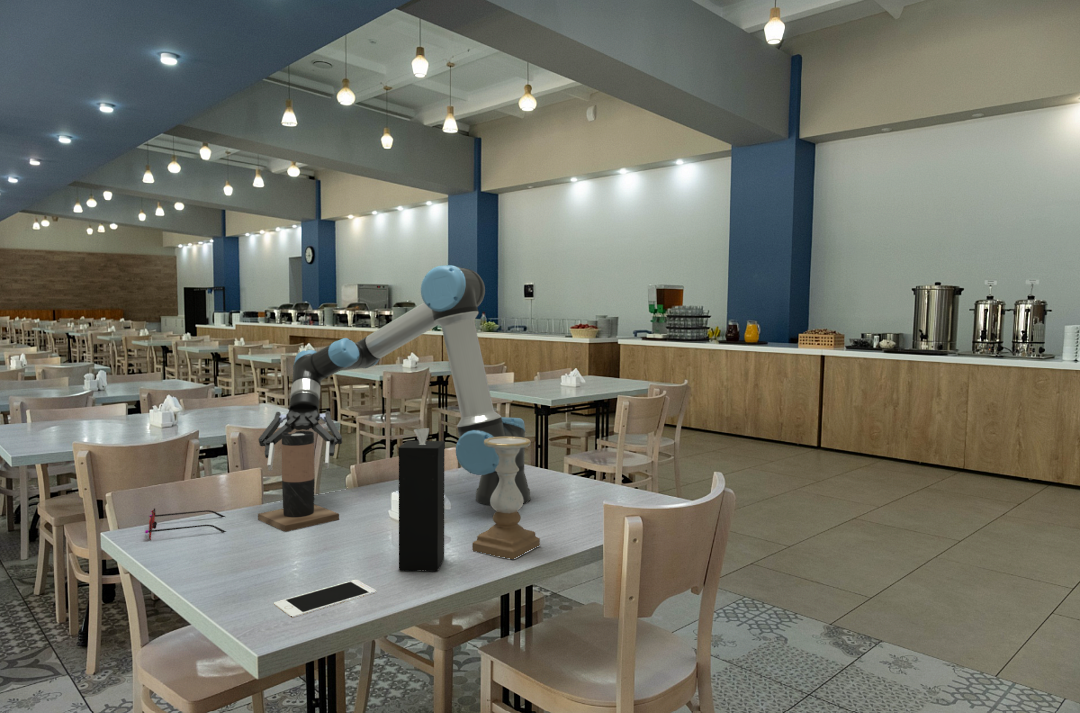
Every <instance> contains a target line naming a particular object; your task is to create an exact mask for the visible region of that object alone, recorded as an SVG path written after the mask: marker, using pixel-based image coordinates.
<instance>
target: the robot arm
mask: <svg viewBox="0 0 1080 713" xmlns="http://www.w3.org/2000/svg"><path fill="white" fill-rule="evenodd" d="M485 293H486V288H485V283H484V281H483V279H482V278H481V276H480V275H479V274H478V273H477V272H476V271H474V270H472V269H469V268H463V267H459V266H455V265H451V264H445V265H444V264H443V265H438V266H434V267H433V268H431V269H430V270H429V271H428V272H427V273H426V275H424V277H423V279H422V281H421V285H420V295H421V299H422V301H423V302H422V303H420V304H419V305H417V306H415V307H414V308H412V309H411V310H408V311H407V312H405V313H403V314H402V315H400V316H398V317H397V318H395V319H393V320H392V321H389V323H386V324H385V325H383V326H382V327H380V328H378V329H376V330H375V331H373V332H372V333H370V334H368V335H367V336H365V337H364V338H362V339H360V340H358V341H357V342H354V341H353V340H350V339H349V338H347V337H343V338H341V339H339V340H335V341H334V342H332V343H330V344H329V345H327V346H325V347H323V348H322V349H320V350H318V351H316V350H314V349H308V350H305V349H304V350H302V351H299V352H298V353H297V354H296V356H295V358H294V362H293V366H292V370H293V371H292V382H291V386H290V387H291V389H290V390H291V391H290V398H289V399H290V400H289V407H288V412H287V413H286V414H283V413H281V412H280V411H276V412H275V414H274V418H273V419H272V421H271V422H270V423H269V425H268V426H267V427H266V428H265V430H264V431H262V433H261V434H260V436H259V437H258V443H259V446H260V447H264V456H265V459H267V464H266V465H267V469H268V471H273V467H274V466H273V463H274V457H275V448H276V447H275V445H276V444H277V443H278V442H280V441H282V433H285V432H287V433H288V434H290V433H292V432H293V431H294V430H296V431H310V429H311V430H312V431H313V432H315V433H317V435H318V436H320V437H321V438H322V439H323V440H324V441H325V444H326V445H325V456H324V457H325V459H324V461H325V462H324V465H325V466H324V467H325V470H326V469H329V468H330V460H331V459H330V458H331V457H333V456H335V448H336V446H337V445H342V443H343V438H342V437H343V436H342V434H341V432H340V431H339V430H338V428H337V426H336V424H335V423H334V420H332V418H331V411H329V410H326V411H325V413H319V411H320V398H321V387H322V385H321V384H322V381H323V380H324V379H326V378H329V377H330V376H333V375H335V374H336V373H339V372H342V371H348V370H356V369H357V370H358V369H368V368H371V367H374V366H376V365H377V364H378V362H379V361H380V359H382V358H385V356H387V355H389V354H391V353H393V352H394V351H395V350H397V349H399V348H400V347H403V346H405V345H407V344H408V343H410V342H411V341H413V340H415V339H416V338H418V337H419V336H422V335H424V334H425V333H427V332H428V331H430V330H433V328H435V327H437V326H439V327H441V330H442V331H441V332H442V334H443V340H444V344H445V348H446V354H447V359H448V364H449V367H450V373H451V377H452V381H453V386H454V390H455V395H456V400H457V404H458V409H459V413H460V420H459V421H458V423H457V425H456V427H457V433H458V437H459V438H458V440H457V442H456V445H455V456H456V459H457V462H458V463H459V465H460V467H462V468H463V470H464V471H467V472H468V473H469V474H472V475H476V476H480V479H479V482H478V483H479V484H478V487H477V488H476V490H475V500H476V502H477V503H480V504H483V505H487V506H491V504H490V498H491V495H492V493H493V492H494V490H495V489H496V487H497V485H498V483H499V476H498V474H497V472H496V471H495V468H496V467H497V465H498V463H499V456H498V455H497V453H496V452H495V448H491V447H487V446H485V445H484V440H485V439H487V438H492V437H503V436H511V437H523V438H526V436H525V435H526V428H525V421H524V419H522V418H520V417H505V416H502V415H501V414H499V413H498V412H496V411H495V410H494V406H493V405H494V404H493V401H492V395H491V392H490V391H491V390H490V386H489V383H488V379H487V378H488V377H487V373H486V369H485V364H484V358H483V355H482V350H481V345H480V341H479V336H478V331H477V327H476V323H475V319H476V318H477V316H478V315H479V309H478V307H479V306H480V305H481V303H482V302H483V300H484V297H485ZM320 420H322V421H323V422H324V423H325V424H326V426H327V428H328V429H329V431H330V432H328V431H327V430H326V429H325V428H324V427H323V426H322V425H321V424H320V423H319V421H320ZM284 421H285V423H284V424H283V422H284ZM281 424H283V426H281V427H280V425H281ZM279 427H280V428H279ZM525 448H526V447H524V448H520V450H519V452H518V454H517V455H516V458H515V463H516V465H517V467H518V468H519V471H518V472H517V474H516V476H515V483H516V485H517V487H518V489H519V490H520V492H521V494H522V496H523V500H524V502H523V503H524V504H526V502H527V503H528V502H530V501H529V500H531V489H530V488H529V485H528V480H527V477H526V476H527V475H526V472H525Z"/></svg>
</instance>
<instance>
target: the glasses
mask: <svg viewBox="0 0 1080 713" xmlns="http://www.w3.org/2000/svg"><path fill="white" fill-rule="evenodd" d="M150 513H151V514H150V515H149V516H148V517H149V521H148V524H149V525H148V527H149V528H148V529H149V530H148V529H146V530H145V531H144V533H145V534H148V536H149V537H148V538H149V540H150V541H151V540H152V535H153V534H152V533H155V532H165V531H173V530H183V529H193V528H202V527H211V528H213V529H216V530H217V531H218V532H221V533H223V532H227V531H226V530H225V529H222V528H220V527H218V526H216V525H213V524H200V525H190V526H181V527H171V528H161V529H156V528H157V525H158V523H157V521H156V520H155V519H156V518H157V517H168V516H177V515H187V514H196V513H212V514H215V515H217V516H219V517H220V518H222V517H225V518H226V515H223V514H220V513H218V512H217V511H215V510H210V509H209V510H208V509H207V510H197V511H195V510H194V511H184V512H175V513H164V514H156V508H153V510H150Z"/></svg>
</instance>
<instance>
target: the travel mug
mask: <svg viewBox="0 0 1080 713" xmlns="http://www.w3.org/2000/svg"><path fill="white" fill-rule="evenodd" d="M315 469H316V468H315V433H314V431H311V430H296V431H295V432H294V433H287V432H285V433H282V439H281V486H282V488H281V489H282V490H281V491H282V509H283V513H284V516H287V517H304V516H308V515H311V514H313V513H314V504H315V486H316V485H315V480H316V479H315V478H316V477H315V476H316V474H315V471H316V470H315Z"/></svg>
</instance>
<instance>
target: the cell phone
mask: <svg viewBox="0 0 1080 713" xmlns="http://www.w3.org/2000/svg"><path fill="white" fill-rule="evenodd" d="M375 591H376V592H377V590H376V589H375V588H373V587H370V586H369V585H367V584H366V583H363V581H360V580H359V579H353V580H349V581H346V582H341V583H338V584H335V585H332V586H331V585H330V586H327V587H324V588H319V589H317V590H313V591H309V592H306V593H303V594H299V595H296V596H295V595H294V596H292V597H287V598H284V599H281V600H278V601H274V602H273V605H274V606H275V605H276V606H275V607H277V608H278V609H279V610H280V611H282V612H283V611H284V612H283V613H285V614H286V613H287V614H288V616H289V615H290V616H292V617H291V618H294V617H293V616H297V615H300V614H303V615H305V614H304V613H307V614H309V613H308V612H310V611H313V610H316V609H320V608H323V607H325V606H326V607H327V606H329V605H333V604H334V603H335V604H336V603H340V602H342V601H343V600H349V598H350V599H351V598H355V597H359V596H363V595H365V594H369V593H371V592H375ZM363 597H364V596H363ZM340 604H341V603H340ZM333 606H334V605H333ZM327 608H328V607H327ZM323 609H324V608H323ZM320 610H321V609H320ZM313 612H314V611H313ZM310 613H311V612H310ZM287 614H286V615H287ZM290 616H289V617H290ZM300 616H301V615H300ZM297 617H298V616H297Z"/></svg>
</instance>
